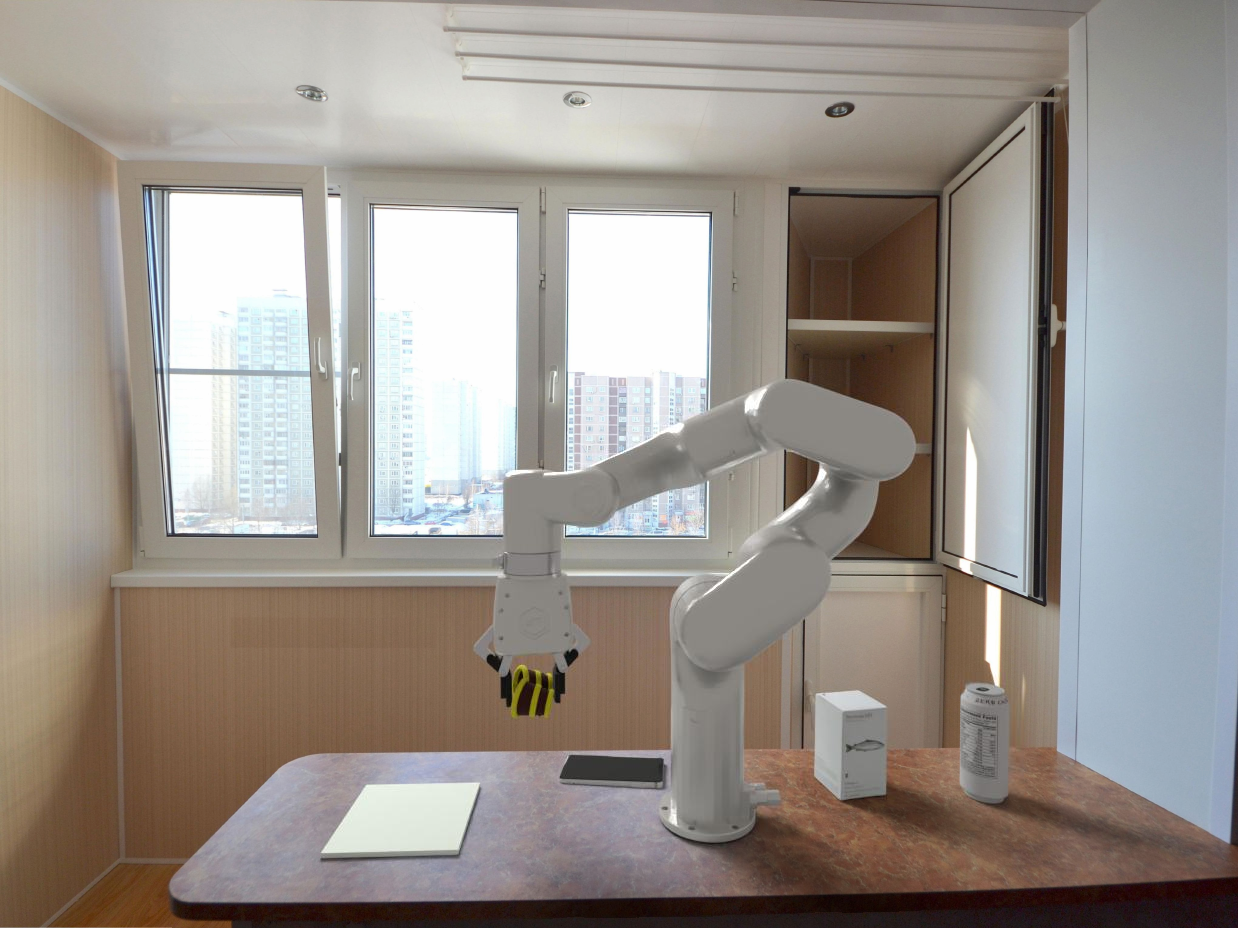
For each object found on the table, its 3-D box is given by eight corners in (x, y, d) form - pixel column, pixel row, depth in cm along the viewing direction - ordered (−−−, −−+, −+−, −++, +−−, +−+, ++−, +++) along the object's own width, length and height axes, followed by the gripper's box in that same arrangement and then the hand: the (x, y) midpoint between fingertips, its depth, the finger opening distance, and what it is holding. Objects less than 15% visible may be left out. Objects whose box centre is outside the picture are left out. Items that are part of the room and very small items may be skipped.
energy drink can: (1018, 799, 91) (1019, 691, 91) (990, 809, 88) (991, 698, 88) (977, 780, 96) (978, 678, 96) (950, 789, 94) (951, 684, 94)
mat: (480, 786, 94) (480, 782, 94) (458, 854, 78) (458, 849, 78) (366, 788, 93) (366, 784, 93) (320, 858, 77) (320, 853, 77)
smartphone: (568, 753, 103) (663, 756, 102) (568, 761, 103) (664, 764, 102) (558, 778, 95) (662, 782, 94) (558, 787, 95) (662, 791, 94)
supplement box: (840, 802, 90) (841, 710, 90) (813, 776, 97) (813, 691, 97) (888, 796, 92) (889, 706, 92) (857, 771, 99) (858, 688, 99)
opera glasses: (550, 729, 82) (557, 689, 82) (507, 723, 81) (515, 683, 81) (547, 700, 91) (554, 665, 91) (509, 695, 91) (516, 659, 91)
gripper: (464, 571, 80) (464, 718, 81) (602, 566, 84) (602, 707, 84) (465, 561, 88) (466, 696, 88) (592, 557, 91) (592, 686, 92)
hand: (532, 700), depth 86 cm, fingers closed on opera glasses, 5 cm apart
